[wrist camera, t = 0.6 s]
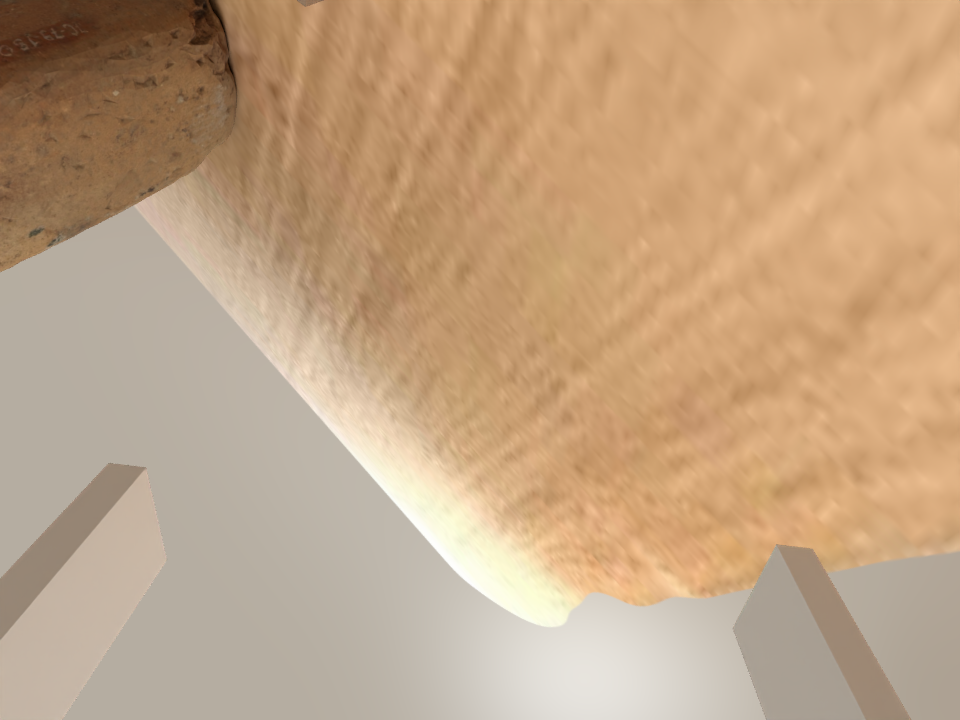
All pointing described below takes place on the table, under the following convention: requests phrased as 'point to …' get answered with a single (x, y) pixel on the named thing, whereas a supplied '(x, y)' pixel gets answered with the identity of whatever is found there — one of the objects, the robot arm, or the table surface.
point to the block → (102, 110)
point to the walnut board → (308, 2)
